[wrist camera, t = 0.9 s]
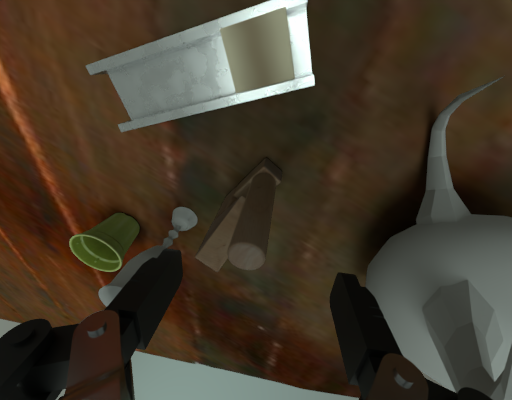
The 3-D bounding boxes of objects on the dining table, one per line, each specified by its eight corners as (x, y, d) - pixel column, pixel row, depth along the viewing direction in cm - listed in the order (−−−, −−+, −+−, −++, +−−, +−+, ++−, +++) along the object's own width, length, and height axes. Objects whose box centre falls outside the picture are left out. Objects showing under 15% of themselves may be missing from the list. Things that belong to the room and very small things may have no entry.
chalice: (166, 199, 40) (90, 280, 25) (201, 205, 40) (145, 292, 25) (170, 228, 44) (107, 313, 30) (202, 234, 44) (155, 324, 29)
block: (287, 18, 23) (285, 6, 18) (294, 75, 26) (294, 78, 21) (234, 35, 24) (219, 28, 20) (246, 87, 27) (236, 93, 22)
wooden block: (224, 196, 38) (180, 284, 23) (266, 155, 33) (243, 235, 18) (240, 209, 39) (207, 301, 24) (283, 171, 34) (275, 259, 19)
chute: (304, -2, 23) (306, -13, 19) (312, 82, 27) (314, 85, 23) (109, 65, 29) (85, 65, 26) (138, 124, 33) (121, 131, 30)
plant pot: (156, 236, 46) (131, 268, 39) (124, 243, 49) (95, 274, 42) (129, 201, 42) (95, 230, 35) (95, 211, 45) (58, 239, 38)
